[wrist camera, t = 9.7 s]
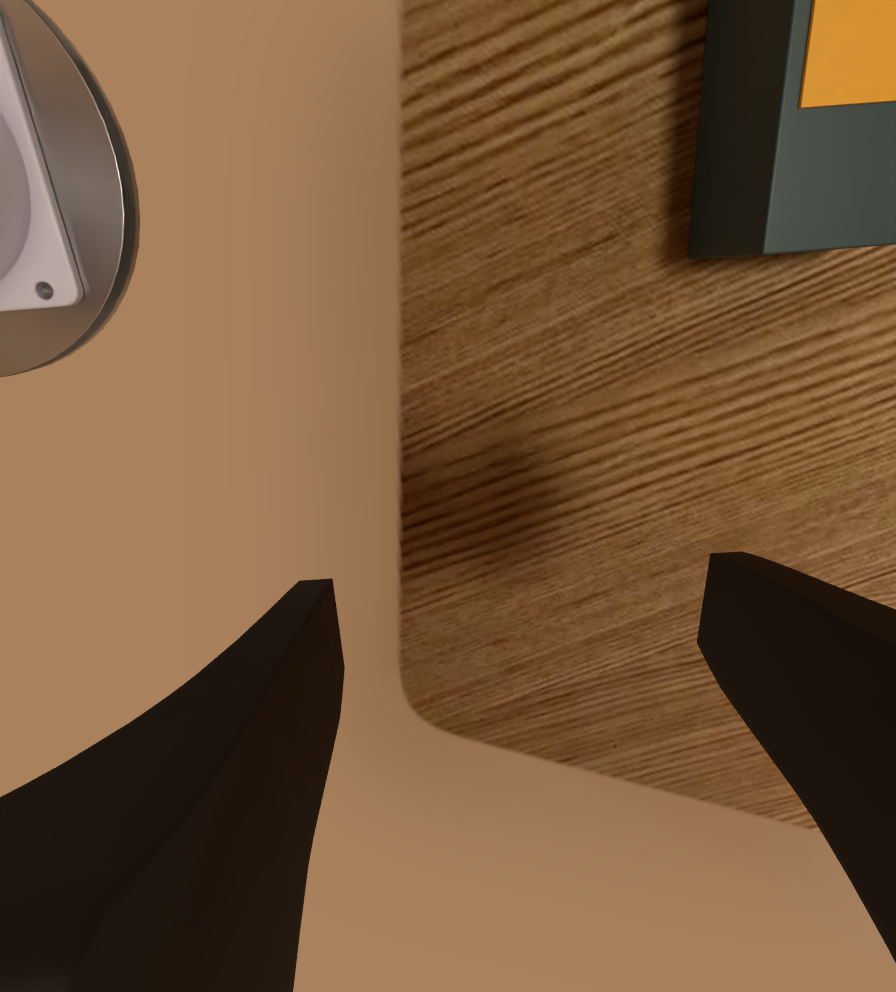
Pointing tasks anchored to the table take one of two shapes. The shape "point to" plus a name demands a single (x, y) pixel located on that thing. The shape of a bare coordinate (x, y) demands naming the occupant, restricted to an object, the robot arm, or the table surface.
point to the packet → (796, 128)
